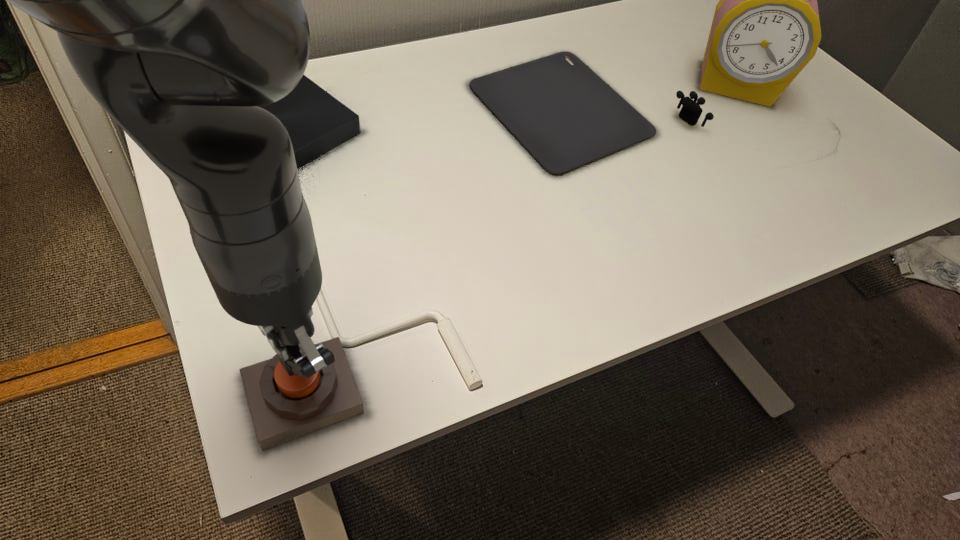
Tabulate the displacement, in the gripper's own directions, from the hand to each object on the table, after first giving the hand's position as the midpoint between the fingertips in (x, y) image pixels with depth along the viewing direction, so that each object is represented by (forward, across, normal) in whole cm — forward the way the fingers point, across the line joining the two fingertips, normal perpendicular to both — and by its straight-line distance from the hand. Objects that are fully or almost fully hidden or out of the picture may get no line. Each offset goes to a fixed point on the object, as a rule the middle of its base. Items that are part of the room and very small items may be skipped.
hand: (296, 364), depth 56 cm
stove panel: (+7, +35, -15) cm, 39 cm away
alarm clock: (+7, +6, -83) cm, 84 cm away
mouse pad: (+7, +18, -54) cm, 57 cm away
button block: (+7, 0, 0) cm, 7 cm away
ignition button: (+3, 0, 0) cm, 3 cm away
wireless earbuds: (+7, +5, -68) cm, 69 cm away
